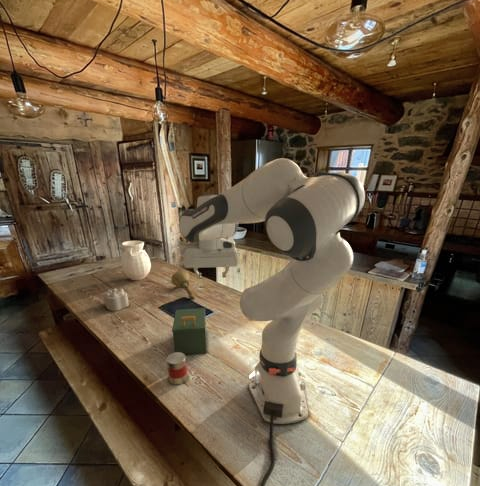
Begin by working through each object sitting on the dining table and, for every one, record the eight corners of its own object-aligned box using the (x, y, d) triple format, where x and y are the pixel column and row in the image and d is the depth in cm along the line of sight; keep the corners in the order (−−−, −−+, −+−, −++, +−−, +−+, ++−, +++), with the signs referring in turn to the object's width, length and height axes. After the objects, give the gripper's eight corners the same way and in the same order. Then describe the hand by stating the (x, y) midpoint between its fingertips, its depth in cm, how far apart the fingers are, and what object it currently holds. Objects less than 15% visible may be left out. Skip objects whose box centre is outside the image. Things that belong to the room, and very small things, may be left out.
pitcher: (147, 283, 177) (141, 246, 166) (119, 282, 177) (112, 246, 167) (155, 273, 194) (151, 239, 184) (130, 273, 194) (124, 239, 184)
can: (186, 383, 93) (184, 363, 90) (168, 385, 93) (165, 364, 89) (187, 371, 99) (186, 351, 96) (170, 372, 99) (167, 352, 95)
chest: (206, 352, 109) (205, 328, 104) (175, 355, 108) (172, 330, 103) (206, 332, 123) (204, 309, 118) (178, 333, 122) (176, 311, 117)
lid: (205, 329, 103) (204, 319, 102) (172, 331, 102) (170, 321, 100) (204, 309, 118) (204, 299, 117) (176, 311, 117) (175, 301, 115)
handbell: (182, 287, 175) (195, 308, 157) (167, 281, 167) (179, 302, 149) (192, 273, 173) (207, 293, 155) (177, 266, 165) (191, 286, 147)
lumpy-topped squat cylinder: (113, 312, 140) (109, 297, 137) (101, 304, 148) (98, 290, 144) (131, 305, 148) (128, 291, 144) (119, 298, 155) (117, 284, 152)
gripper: (180, 244, 91) (183, 281, 97) (239, 243, 93) (239, 279, 99) (181, 240, 97) (184, 275, 103) (237, 239, 99) (237, 273, 105)
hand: (211, 277), depth 101 cm, fingers open, 8 cm apart
